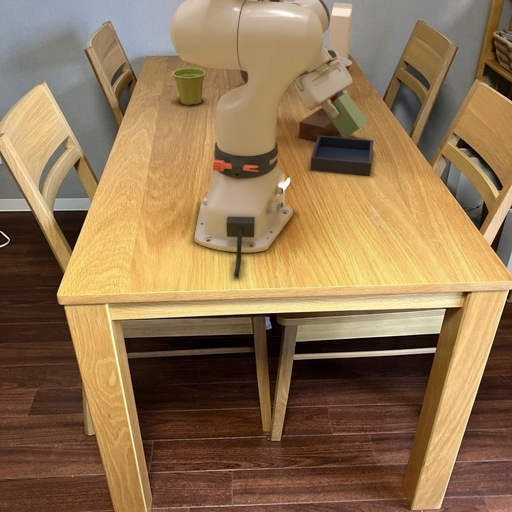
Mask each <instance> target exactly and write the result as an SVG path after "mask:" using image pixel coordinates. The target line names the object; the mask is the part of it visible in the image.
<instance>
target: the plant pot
mask: <svg viewBox="0 0 512 512" xmlns="http://www.w3.org/2000/svg"><path fill="white" fill-rule="evenodd" d="M205 75H206V71H205V70H204V69H202V68H198V67H183V68H179V69H176V70H173V71H172V76H173V77H174V81H175V82H176V86H177V92H178V96H179V100H180V101H179V102H180V103H181V104H182V105H185V106H191V105H199V104H201V103H202V98H203V87H204V86H203V85H204V80H205Z"/></svg>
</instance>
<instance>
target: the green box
mask: <svg viewBox="0 0 512 512" xmlns="http://www.w3.org/2000/svg"><path fill="white" fill-rule="evenodd" d="M346 92H347V93H345V94H343V95H342V96H340V97H338V98H337V99H336V100H334V101H333V102H332V103H331V104H332V105H333V106H334V107H336V108H337V107H338V109H339V110H340V112H341V113H340V114H339V115H338V116H337V117H335V118H333V117H332V115H331V114H330V113H329V112H328V111H326V110H325V109H324V111H325V112H326V113H327V115H328V116H329V118H330V119H331V121H332V122H333V123H334V125H335V126H336V128H337V129H338V131H339V132H338V133H339V134H340V135H341V137H345V138H349V136H351V135H353V134H354V133H355V132H357V131H359V129H361V128H362V127H364V125H366V124H367V123H368V120H367V118H366V117H365V116H364V114H363V113H362V111H361V110H360V108H359V107H358V105H357V104H356V102H355V101H354V99H353V98H352V97H351V95H350V93H349V92H348V91H346Z"/></svg>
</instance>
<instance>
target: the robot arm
mask: <svg viewBox="0 0 512 512" xmlns="http://www.w3.org/2000/svg"><path fill="white" fill-rule="evenodd" d="M330 22H331V13H330V11H329V8H328V6H327V4H326V3H325V2H324V0H292V1H285V0H185V1H182V3H180V4H179V5H178V6H177V9H176V10H175V11H174V14H173V16H172V18H171V22H170V32H169V33H170V40H171V44H172V46H173V49H174V51H175V53H176V54H177V56H178V57H179V58H180V60H182V61H184V62H186V63H187V62H188V63H190V64H193V65H197V66H200V67H204V68H208V69H209V68H210V69H221V70H222V69H223V70H234V71H235V70H236V71H240V70H243V71H246V72H247V73H248V82H247V83H244V84H242V85H240V86H237V87H235V88H232V89H230V90H228V91H227V92H226V93H224V94H223V95H222V96H221V97H220V98H219V99H218V102H217V103H216V105H215V132H216V134H215V135H216V141H215V143H214V149H213V161H212V166H210V177H209V184H208V191H206V192H205V197H204V198H202V199H201V201H200V205H199V206H200V207H199V211H198V217H197V221H196V226H195V231H194V242H195V243H196V244H198V245H200V246H203V247H205V248H208V249H213V250H217V251H223V252H232V253H236V260H235V261H236V262H235V268H234V272H233V273H234V274H233V276H234V277H235V278H238V277H239V275H240V270H241V264H242V263H241V262H242V253H243V254H245V253H246V254H247V253H250V254H251V253H260V252H264V251H267V250H268V249H269V248H270V247H271V245H273V242H274V241H275V240H276V239H277V237H278V236H279V235H280V234H281V232H282V230H283V229H284V227H285V226H286V225H287V224H288V222H289V221H290V219H291V218H292V217H293V215H294V211H293V208H292V207H291V206H290V205H287V204H286V189H287V187H288V185H289V184H290V182H291V178H290V177H288V178H287V179H286V176H285V173H284V172H283V171H281V169H280V168H279V166H278V160H279V158H278V157H279V145H278V142H277V125H278V117H279V116H278V115H279V108H280V105H281V102H282V99H283V97H284V94H285V93H286V91H287V89H289V87H290V85H291V84H292V83H293V84H294V88H295V90H296V92H297V94H298V97H299V98H300V99H301V102H302V103H303V104H304V106H305V108H306V109H308V110H309V111H313V110H314V109H317V108H318V107H319V106H321V108H323V109H325V110H326V111H328V112H329V113H330V114H331V115H332V117H333V118H335V117H337V116H338V115H339V114H340V113H341V112H340V110H339V109H338V107H337V108H336V107H334V106H333V105H332V104H331V100H330V99H331V98H332V97H334V96H335V95H337V96H338V97H340V96H342V95H343V94H345V93H347V92H348V91H347V89H348V88H349V87H351V86H352V85H353V77H352V75H351V74H350V72H349V70H348V71H347V69H346V67H345V66H344V65H343V63H342V62H341V61H340V60H339V59H337V58H338V54H337V53H336V51H335V50H330V49H328V48H325V47H323V44H324V34H325V32H326V31H327V30H328V29H329V28H330ZM285 179H286V180H285Z"/></svg>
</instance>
